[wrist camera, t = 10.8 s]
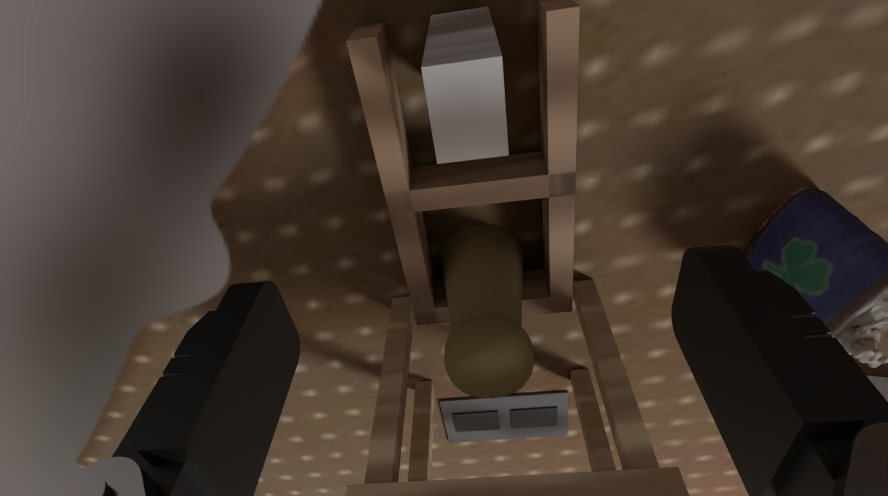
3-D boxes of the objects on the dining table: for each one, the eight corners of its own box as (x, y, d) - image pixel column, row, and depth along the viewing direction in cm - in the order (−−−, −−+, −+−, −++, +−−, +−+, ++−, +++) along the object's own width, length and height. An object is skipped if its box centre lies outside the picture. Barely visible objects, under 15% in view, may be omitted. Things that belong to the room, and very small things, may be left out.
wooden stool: (381, 294, 38) (342, 514, 24) (603, 273, 36) (689, 497, 23) (425, 442, 50) (415, 640, 37) (592, 431, 48) (643, 636, 35)
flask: (751, 291, 37) (840, 414, 28) (716, 285, 37) (795, 407, 28) (834, 189, 31) (975, 302, 23) (793, 180, 31) (921, 291, 23)
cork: (504, 212, 33) (523, 331, 24) (534, 273, 36) (560, 398, 27) (426, 242, 35) (416, 364, 26) (461, 298, 38) (463, 423, 29)
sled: (356, 26, 25) (317, 82, 18) (567, -6, 24) (614, 40, 17) (419, 296, 37) (410, 395, 30) (564, 282, 36) (591, 382, 29)
